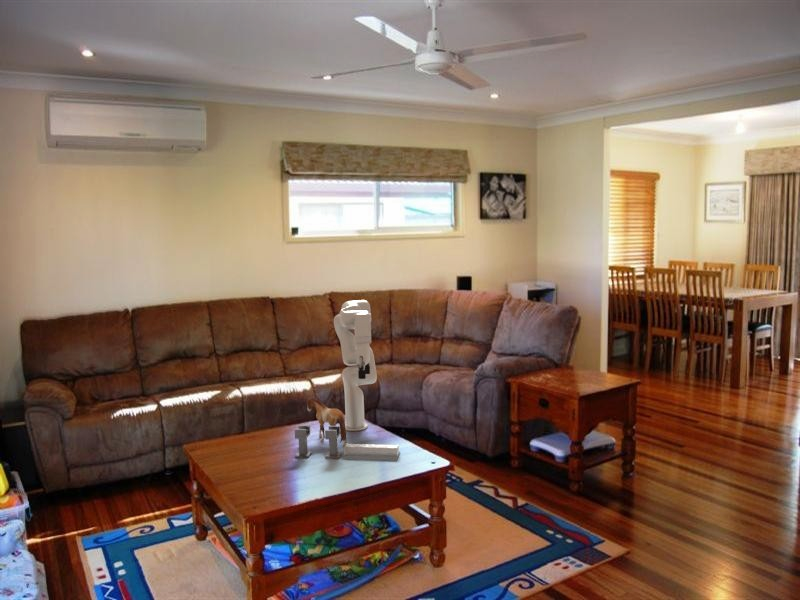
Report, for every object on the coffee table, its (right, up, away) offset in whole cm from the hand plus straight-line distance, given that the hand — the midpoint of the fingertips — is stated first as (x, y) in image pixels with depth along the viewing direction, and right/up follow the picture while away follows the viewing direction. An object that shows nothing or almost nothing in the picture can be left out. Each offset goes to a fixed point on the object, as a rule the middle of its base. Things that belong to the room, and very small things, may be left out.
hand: (364, 376), depth 310 cm
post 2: (-13, -35, -9) cm, 38 cm away
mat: (+4, -35, -10) cm, 36 cm away
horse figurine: (-19, -33, +8) cm, 39 cm away
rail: (+4, -34, -10) cm, 35 cm away
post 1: (-27, -35, -7) cm, 45 cm away
